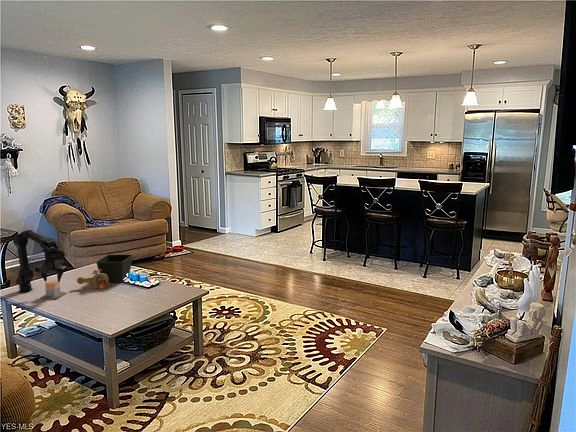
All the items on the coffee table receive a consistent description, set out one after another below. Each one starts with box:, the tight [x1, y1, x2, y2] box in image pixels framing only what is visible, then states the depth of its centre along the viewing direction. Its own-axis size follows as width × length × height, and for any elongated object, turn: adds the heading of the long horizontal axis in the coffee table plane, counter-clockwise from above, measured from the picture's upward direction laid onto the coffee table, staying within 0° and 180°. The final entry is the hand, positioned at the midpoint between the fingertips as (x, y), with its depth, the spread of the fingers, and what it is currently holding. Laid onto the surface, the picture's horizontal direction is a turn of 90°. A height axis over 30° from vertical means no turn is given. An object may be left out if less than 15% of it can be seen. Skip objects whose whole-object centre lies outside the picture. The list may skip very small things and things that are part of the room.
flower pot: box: [95, 254, 133, 284], centre depth 312 cm, size 19×19×17 cm
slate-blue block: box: [45, 286, 62, 297], centre depth 281 cm, size 6×6×4 cm
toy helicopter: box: [76, 269, 110, 291], centre depth 296 cm, size 8×21×14 cm, turn 95°
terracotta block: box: [44, 279, 61, 291], centre depth 281 cm, size 6×6×4 cm
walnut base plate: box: [39, 291, 67, 301], centre depth 282 cm, size 11×11×1 cm
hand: (52, 281), depth 280 cm, fingers open, 9 cm apart
